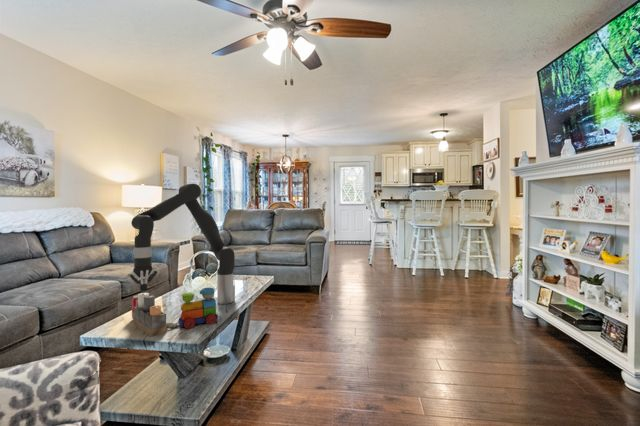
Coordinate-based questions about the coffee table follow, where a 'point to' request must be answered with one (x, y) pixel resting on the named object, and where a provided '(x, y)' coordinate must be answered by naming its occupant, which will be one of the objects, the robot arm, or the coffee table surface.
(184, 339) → the coffee table surface
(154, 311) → the plunger
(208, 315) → the toy train
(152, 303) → the grey upright block
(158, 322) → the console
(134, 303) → the soda can
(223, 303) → the robot arm
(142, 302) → the plunger
